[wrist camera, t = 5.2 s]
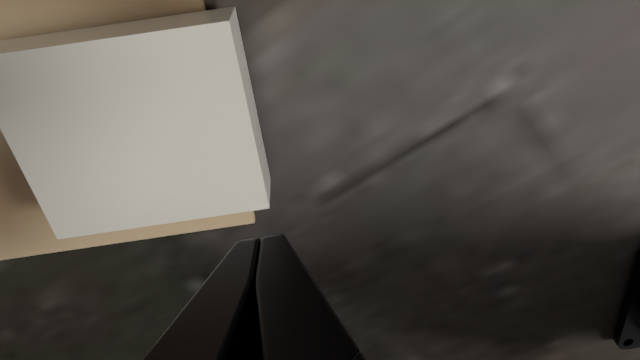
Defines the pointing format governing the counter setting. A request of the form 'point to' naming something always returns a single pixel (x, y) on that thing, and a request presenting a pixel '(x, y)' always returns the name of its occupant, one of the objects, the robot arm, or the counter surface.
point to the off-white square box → (135, 122)
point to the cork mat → (3, 169)
